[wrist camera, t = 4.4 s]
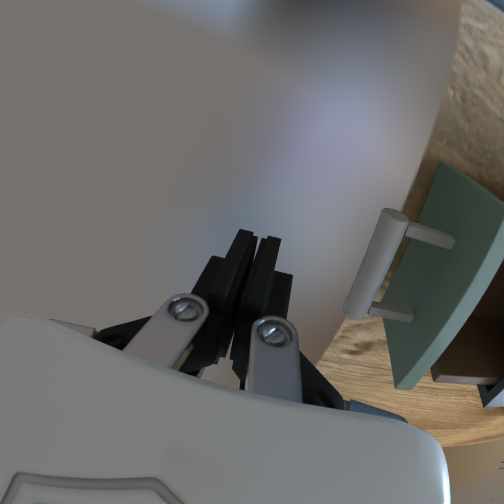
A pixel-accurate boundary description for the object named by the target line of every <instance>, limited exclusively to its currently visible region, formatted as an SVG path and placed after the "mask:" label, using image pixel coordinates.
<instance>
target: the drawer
mask: <svg viewBox="0 0 504 504" xmlns="http://www.w3.org/2000/svg"><path fill="white" fill-rule="evenodd" d="M404 235H405V236H407V237H411V239H410V241H409V244H408V246H407V248H406V251H405V253H404V255H403V257H402V259H401V262H400V264H399V266H398V268H397V270H396V272H395V274H394V276H393V278H392V280H391V282H390V284H389V286H388V288H387V290H386V292H385V294H384V296H383V298H382V300H381V302H375V301H373V300H374V298H375V297H376V295H377V293H378V291H379V288H380V286H381V284H382V282H383V280H384V278H385V276H386V274H387V272H388V270H389V267H390V265H391V263H392V261H393V259H394V256H395V254H396V252H397V250H398V247H399V245H400V243H401V240H402V238H403V236H404ZM343 311H344V313H345V314H346V315H347V316H348V317H350V318H352V319H356V320H360V319H363V318H364V317H365V316H366V314H367V313H368V315H373V316H378V317H382V318H383V322H384V327H385V332H386V338H387V343H388V348H389V354H390V360H391V366H392V373H393V379H394V386H395V389H404V390H411V389H412V388H413V387H414V386H415V385H416V384H417V383H418V381H419V380H420V379H421V378H422V377H423V376H424V375H425V373H426V372H427V371H428V370H429V369H430V370H431V374H432V378H433V381H434V382H439V383H455V384H482V385H496V384H497V383H498V382H499V381H500V380H501V379H502V378H503V377H504V202H502V201H501V200H500V199H498V198H497V197H496V196H495V195H493V194H492V193H491V192H489V191H488V190H487V189H485V188H484V187H483V186H481V185H480V184H479V183H477V182H476V181H474V180H473V179H472V178H470V177H469V176H467V175H466V174H464V173H463V172H461V171H460V170H458V169H457V168H455V167H454V166H452V165H449V164H447V163H445V162H442V161H440V162H439V165H438V168H437V171H436V174H435V177H434V180H433V183H432V185H431V188H430V191H429V194H428V197H427V199H426V202H425V205H424V207H423V210H422V212H421V215H420V217H419V220H418V222H417V223H414V222H411V221H409V219H408V218H407V217H406V216H405V215H404V214H402V213H401V212H399V211H397V210H394V209H390V208H384V209H383V210H382V212H381V215H380V217H379V220H378V223H377V226H376V228H375V231H374V234H373V236H372V239H371V241H370V244H369V246H368V249H367V252H366V254H365V257H364V259H363V261H362V264H361V266H360V269H359V271H358V273H357V276H356V278H355V281H354V283H353V285H352V287H351V289H350V292H349V294H348V296H347V299H346V301H345V303H344V305H343Z"/></svg>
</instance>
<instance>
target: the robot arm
mask: <svg viewBox="0 0 504 504" xmlns="http://www.w3.org/2000/svg"><path fill="white" fill-rule="evenodd" d="M257 239H258V237H257V236H253V232H251V231H247V230H242V229H239V231H238V233H237V235H236V237H235V239H234V241H233V243H232V245H231V247H230V249H229V251H228V253H227V255H226V257H225V258H221V257H218V256H212V257H211V258H210V260H209V262H208V264H207V265H206V267H205V269H204V270H203V272H202V274H201V276H200V277H199V279H198V281H197V283H196V285H195V286H194V288H193V290H192V292H191V293H190V294H185V293H184V294H177V295H175V296H172V297H171V298H169V299H168V300H167V301H166V302H165V303H164V304H163V305H162V306H161V307H160V309H159V310H158V311H157V312H156V313H155V314H154V315H153V316H149V317H146V318H142V319H139V320H135V321H131V322H128V323H124V324H120V325H116V326H113V327H109V328H106V329H103V330H101V331H100V332H97V331H96V329H95V328H92V327H87V326H82V325H77V324H72V323H68V322H63V321H59V320H54V319H45V318H42V317H39V316H35V315H31V314H25V313H16V312H12V313H3V314H0V504H451V503H450V484H449V475H448V470H447V464H446V459H445V456H444V453H443V450H442V448H441V446H440V444H439V443H438V441H437V440H436V439H435V438H434V437H433V436H431V435H430V434H429V433H427V432H425V431H424V430H422V429H420V428H418V427H416V426H413V425H411V424H409V423H408V422H407V421H406V420H405V419H404V418H403V417H401V416H399V415H397V414H394V413H391V412H388V411H384V410H381V409H378V408H375V407H372V406H369V405H366V404H363V403H361V402H358V401H355V400H352V399H351V400H350V401H349V402H348V401H346V400H343V398H342V396H341V395H340V394H339V392H338V391H337V390H336V389H335V388H334V387H333V386H332V385H331V384H330V383H329V382H328V381H327V380H326V378H325V377H324V376H323V375H322V374H321V373H320V372H319V371H318V370H317V369H316V368H315V367H314V366H313V365H312V364H311V362H309V360H308V359H307V358H306V357H305V356H304V355H303V354H302V353H301V352H300V351H299V343H298V334H297V330H296V328H295V327H294V326H293V325H292V324H291V323H290V322H289V321H288V320H286V319H287V312H288V306H289V299H290V293H291V286H292V279H293V275H291V274H287V273H283V272H278V271H274V268H275V264H276V260H277V255H278V251H279V247H280V243H281V239H280V238H276V237H272V236H268V237H267V239H265V238H262V239H261V242H260V245H259V247H258V250H257V253H256V256H255V259H254V255H255V250H256V244H257ZM253 260H254V262H253ZM233 333H234V337H233V342H232V347H231V353H230V360H233V366H232V369H233V371H234V372H235V374H236V375H237V376H238V378H239V383H238V389H236V388H232V387H229V386H225V385H221V384H218V383H214V382H211V381H207V380H204V379H201V378H200V377H201V376H202V374H203V372H204V368H205V367H207V366H210V365H212V364H218V361H219V358H220V357H223V358H225V357H226V354H227V351H228V348H229V345H230V342H231V339H232V336H233Z"/></svg>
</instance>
